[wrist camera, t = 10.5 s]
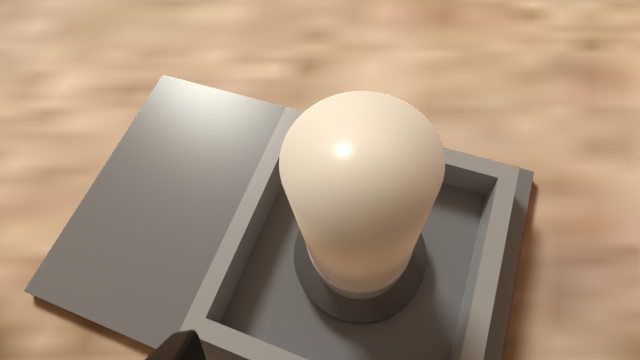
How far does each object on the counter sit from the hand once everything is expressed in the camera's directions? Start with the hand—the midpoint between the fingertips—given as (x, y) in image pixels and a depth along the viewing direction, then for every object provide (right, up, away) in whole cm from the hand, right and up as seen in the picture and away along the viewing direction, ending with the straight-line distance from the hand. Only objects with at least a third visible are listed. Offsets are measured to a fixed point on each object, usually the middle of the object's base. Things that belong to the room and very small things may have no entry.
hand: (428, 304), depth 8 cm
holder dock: (-4, 0, +13) cm, 14 cm away
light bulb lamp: (0, -1, +12) cm, 12 cm away
